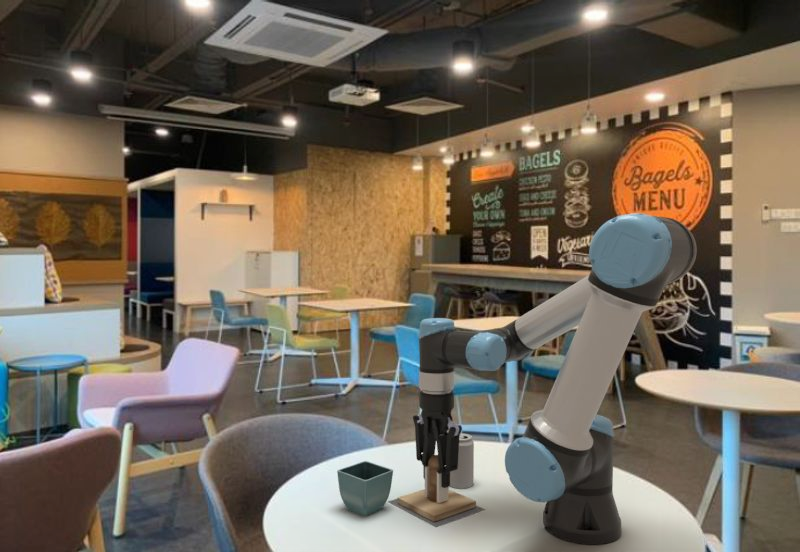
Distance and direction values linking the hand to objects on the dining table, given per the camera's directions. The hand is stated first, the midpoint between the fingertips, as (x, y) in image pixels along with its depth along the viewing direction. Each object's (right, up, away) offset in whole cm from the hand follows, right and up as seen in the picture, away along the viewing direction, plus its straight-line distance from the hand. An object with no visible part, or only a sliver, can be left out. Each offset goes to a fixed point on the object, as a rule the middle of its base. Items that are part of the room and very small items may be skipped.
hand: (436, 498), depth 131 cm
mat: (0, -2, 0) cm, 2 cm away
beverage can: (+6, -2, +13) cm, 15 cm away
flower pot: (-15, -2, -2) cm, 16 cm away
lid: (0, -1, 0) cm, 1 cm away
